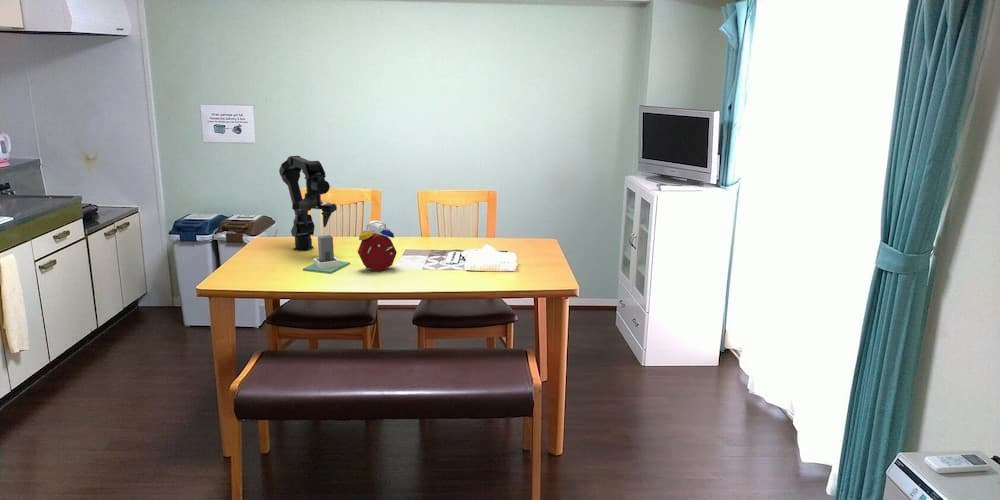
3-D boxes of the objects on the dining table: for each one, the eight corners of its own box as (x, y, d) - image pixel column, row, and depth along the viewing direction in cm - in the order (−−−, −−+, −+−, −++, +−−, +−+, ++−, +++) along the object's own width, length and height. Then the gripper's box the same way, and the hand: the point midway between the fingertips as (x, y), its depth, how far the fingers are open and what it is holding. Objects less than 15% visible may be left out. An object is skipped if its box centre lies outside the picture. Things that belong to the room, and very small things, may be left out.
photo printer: (368, 245, 333) (367, 219, 329) (376, 244, 335) (375, 218, 332) (379, 250, 325) (378, 223, 322) (387, 248, 328) (386, 222, 324)
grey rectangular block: (319, 264, 297) (317, 236, 294) (331, 263, 300) (329, 235, 297) (322, 267, 294) (321, 238, 291) (334, 265, 296) (333, 237, 293)
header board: (302, 270, 292) (302, 262, 291) (322, 261, 306) (322, 253, 305) (331, 273, 288) (330, 265, 288) (350, 264, 302) (349, 256, 301)
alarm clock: (393, 266, 300) (392, 219, 295) (398, 271, 292) (397, 223, 287) (358, 269, 295) (356, 221, 290) (362, 275, 287) (360, 225, 282)
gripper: (283, 192, 303) (285, 228, 307) (322, 195, 298) (324, 231, 302) (298, 188, 314) (300, 223, 318) (336, 190, 308) (338, 226, 312)
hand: (315, 226), depth 312 cm, fingers open, 9 cm apart
